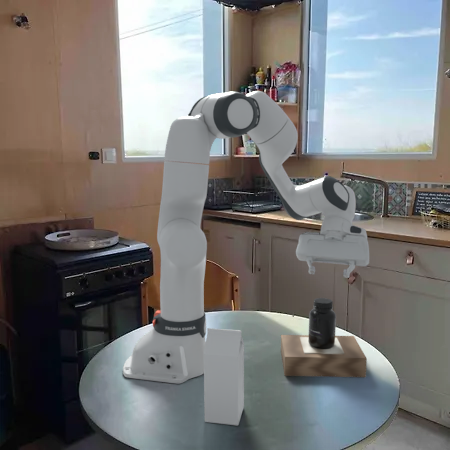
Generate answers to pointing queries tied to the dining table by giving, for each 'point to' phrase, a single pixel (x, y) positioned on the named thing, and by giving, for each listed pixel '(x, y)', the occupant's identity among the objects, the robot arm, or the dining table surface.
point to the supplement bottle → (322, 324)
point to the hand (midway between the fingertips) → (328, 274)
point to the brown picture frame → (322, 357)
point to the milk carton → (223, 376)
